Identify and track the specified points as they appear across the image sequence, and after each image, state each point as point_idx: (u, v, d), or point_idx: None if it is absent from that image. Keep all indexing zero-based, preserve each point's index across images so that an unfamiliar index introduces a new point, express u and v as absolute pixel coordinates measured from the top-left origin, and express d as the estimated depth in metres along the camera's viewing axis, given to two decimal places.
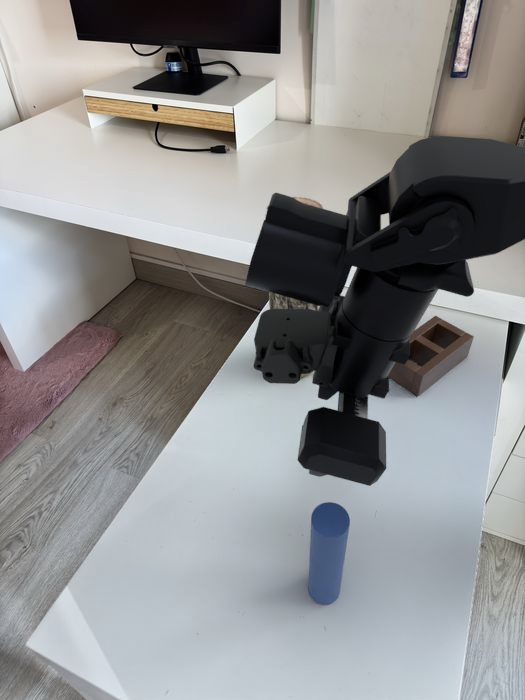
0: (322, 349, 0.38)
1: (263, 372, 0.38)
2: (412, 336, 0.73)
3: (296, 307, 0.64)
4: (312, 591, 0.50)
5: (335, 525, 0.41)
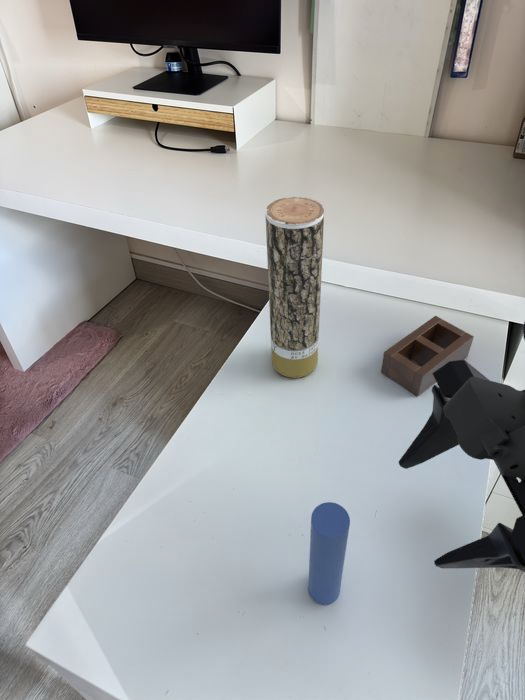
0: None
1: (511, 464, 0.31)
2: (412, 336, 0.73)
3: (296, 307, 0.64)
4: (312, 591, 0.50)
5: (335, 525, 0.41)
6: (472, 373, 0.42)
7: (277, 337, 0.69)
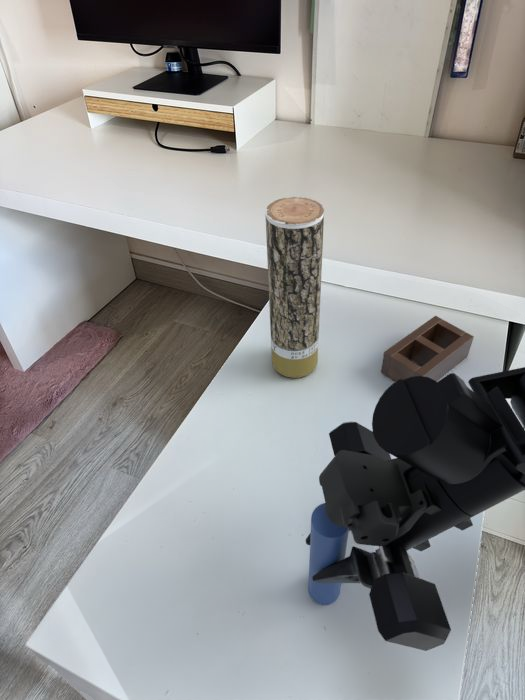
0: (406, 511, 0.38)
1: (361, 535, 0.35)
2: (412, 336, 0.73)
3: (296, 307, 0.64)
4: (312, 591, 0.50)
5: (335, 525, 0.41)
6: (361, 436, 0.47)
7: (277, 337, 0.69)
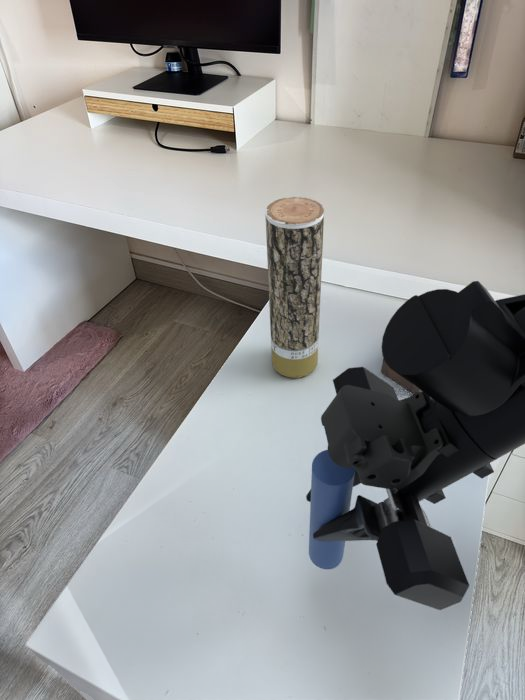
0: (419, 452, 0.34)
1: (368, 474, 0.31)
2: None
3: (296, 307, 0.64)
4: (313, 554, 0.45)
5: (338, 473, 0.37)
6: (368, 380, 0.42)
7: (277, 337, 0.69)
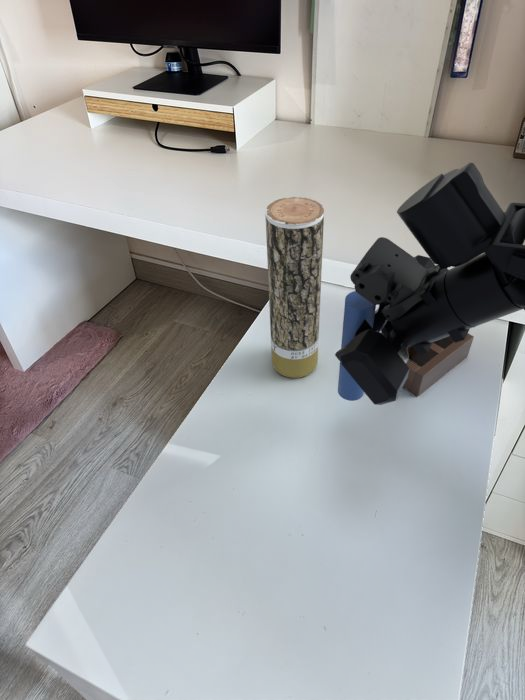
0: (409, 294, 0.46)
1: (359, 281, 0.46)
2: None
3: (296, 307, 0.64)
4: (338, 382, 0.61)
5: (361, 303, 0.52)
6: (426, 266, 0.54)
7: (277, 337, 0.69)
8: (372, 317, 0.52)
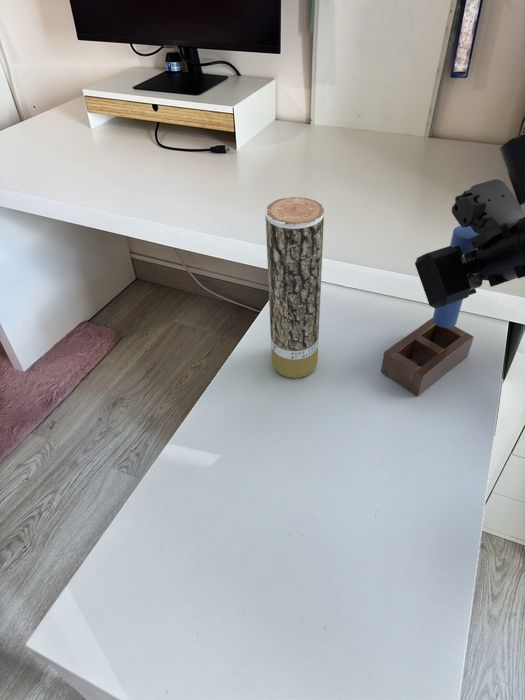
0: (494, 226, 0.55)
1: (455, 203, 0.56)
2: (412, 336, 0.73)
3: (296, 307, 0.64)
4: None
5: (465, 234, 0.61)
6: None
7: (277, 337, 0.69)
8: (471, 249, 0.61)
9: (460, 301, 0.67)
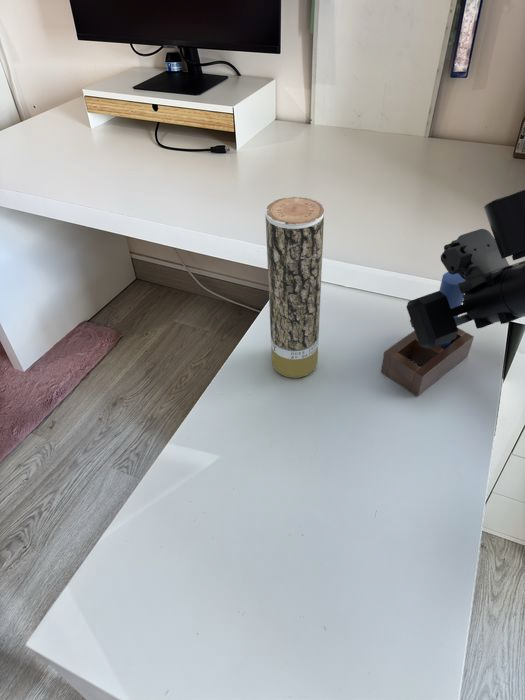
0: (479, 274, 0.59)
1: (443, 252, 0.60)
2: (412, 336, 0.73)
3: (296, 307, 0.64)
4: None
5: (453, 280, 0.66)
6: None
7: (277, 337, 0.69)
8: (459, 294, 0.66)
9: None
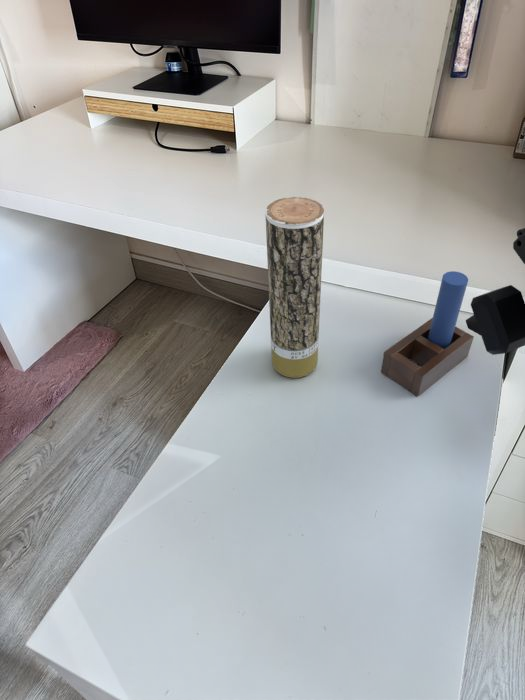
0: None
1: (518, 238, 0.50)
2: (412, 336, 0.73)
3: (296, 307, 0.64)
4: None
5: (453, 280, 0.66)
6: None
7: (277, 337, 0.69)
8: (459, 294, 0.66)
9: (449, 339, 0.72)
